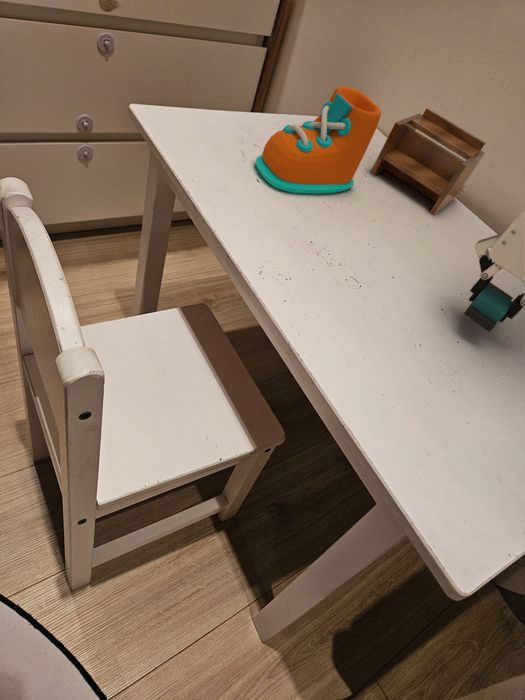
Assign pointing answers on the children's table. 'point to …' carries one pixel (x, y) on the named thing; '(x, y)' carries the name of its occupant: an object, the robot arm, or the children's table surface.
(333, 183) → the toy shoe
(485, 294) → the teal two-tone block
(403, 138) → the shoe rack
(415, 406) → the children's table surface
